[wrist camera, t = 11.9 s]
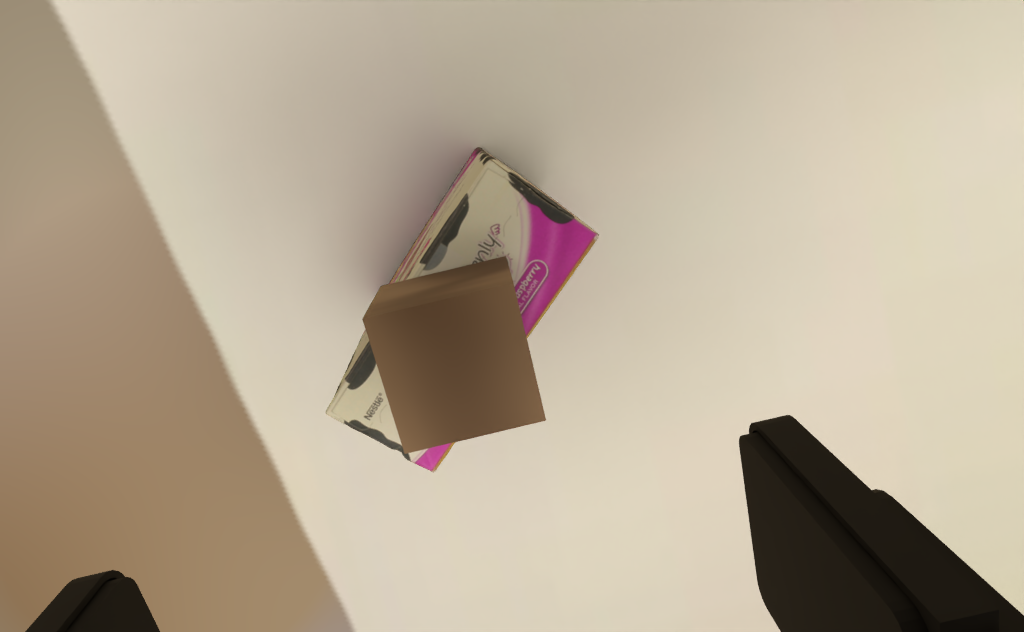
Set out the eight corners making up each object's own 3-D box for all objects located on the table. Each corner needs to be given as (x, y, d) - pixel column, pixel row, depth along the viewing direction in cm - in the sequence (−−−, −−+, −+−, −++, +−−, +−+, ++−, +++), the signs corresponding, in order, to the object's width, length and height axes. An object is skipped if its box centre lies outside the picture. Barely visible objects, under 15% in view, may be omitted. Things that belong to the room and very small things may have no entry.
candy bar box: (446, 343, 40) (432, 482, 24) (376, 300, 39) (314, 417, 23) (549, 191, 38) (607, 236, 22) (477, 142, 37) (484, 152, 21)
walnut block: (505, 255, 22) (513, 282, 18) (533, 372, 23) (546, 420, 19) (381, 285, 22) (362, 319, 18) (415, 400, 23) (404, 453, 20)
